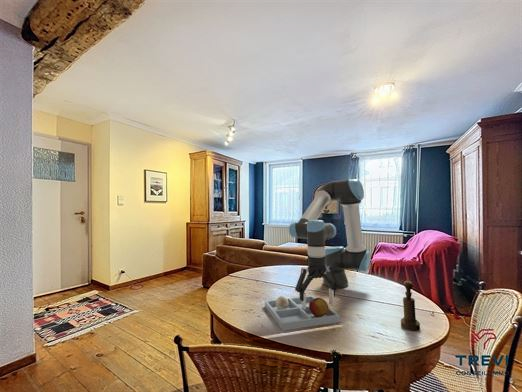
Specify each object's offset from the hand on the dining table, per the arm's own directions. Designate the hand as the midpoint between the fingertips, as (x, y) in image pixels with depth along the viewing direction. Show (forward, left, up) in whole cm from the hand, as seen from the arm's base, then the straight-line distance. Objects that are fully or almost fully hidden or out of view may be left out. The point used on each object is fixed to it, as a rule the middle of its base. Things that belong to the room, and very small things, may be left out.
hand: (318, 306), depth 107 cm
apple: (0, 0, -5) cm, 5 cm away
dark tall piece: (-31, +17, -6) cm, 36 cm away
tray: (+6, -6, -6) cm, 10 cm away
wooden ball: (+12, -12, -5) cm, 18 cm away
